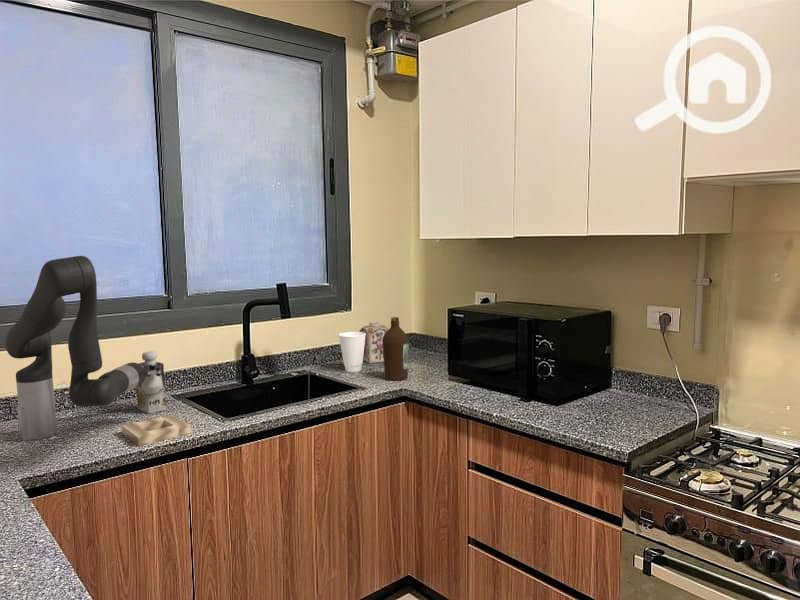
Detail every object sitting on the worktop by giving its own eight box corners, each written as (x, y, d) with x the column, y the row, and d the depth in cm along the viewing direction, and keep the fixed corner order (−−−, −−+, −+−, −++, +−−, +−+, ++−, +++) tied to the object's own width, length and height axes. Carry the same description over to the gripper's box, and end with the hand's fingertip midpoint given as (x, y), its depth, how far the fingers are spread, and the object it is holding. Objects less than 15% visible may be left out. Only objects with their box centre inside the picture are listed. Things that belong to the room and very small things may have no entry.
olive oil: (380, 381, 230) (379, 319, 228) (386, 374, 241) (384, 315, 238) (406, 381, 228) (405, 319, 226) (411, 375, 239) (410, 315, 236)
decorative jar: (369, 363, 263) (368, 325, 261) (358, 359, 273) (357, 322, 271) (392, 360, 269) (391, 322, 267) (381, 356, 279) (380, 319, 277)
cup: (351, 366, 259) (350, 331, 258) (372, 369, 252) (371, 333, 251) (334, 371, 250) (332, 334, 248) (354, 374, 243) (353, 337, 241)
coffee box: (167, 409, 198) (164, 363, 196) (148, 414, 193) (145, 366, 191) (155, 404, 204) (152, 360, 202) (137, 409, 199) (133, 363, 197)
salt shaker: (156, 389, 187) (153, 349, 186) (165, 391, 183) (162, 351, 182) (138, 392, 182) (135, 352, 181) (147, 395, 179) (144, 354, 178)
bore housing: (138, 446, 162) (138, 437, 162) (122, 433, 173) (121, 425, 173) (191, 433, 172) (190, 425, 172) (172, 422, 183) (172, 414, 183)
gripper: (148, 365, 167) (175, 353, 184) (101, 365, 168) (132, 354, 185) (150, 390, 168) (176, 376, 185) (103, 390, 169) (134, 377, 186)
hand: (154, 365), depth 185 cm, fingers closed on salt shaker, 3 cm apart
